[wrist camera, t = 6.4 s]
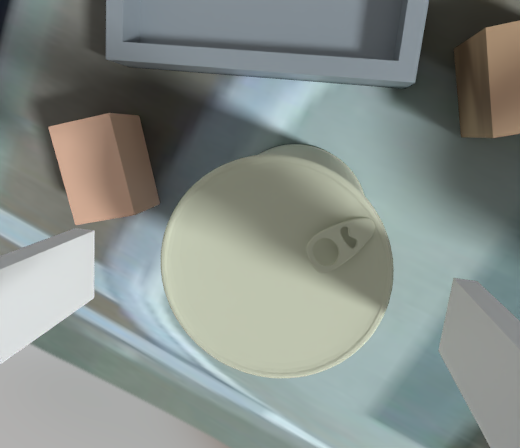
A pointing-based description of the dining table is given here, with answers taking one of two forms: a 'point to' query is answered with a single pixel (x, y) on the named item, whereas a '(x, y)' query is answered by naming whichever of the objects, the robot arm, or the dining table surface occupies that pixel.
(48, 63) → the dining table surface
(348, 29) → the tray
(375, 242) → the can
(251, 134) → the dining table surface
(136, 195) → the soap block
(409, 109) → the dining table surface
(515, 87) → the walnut block
